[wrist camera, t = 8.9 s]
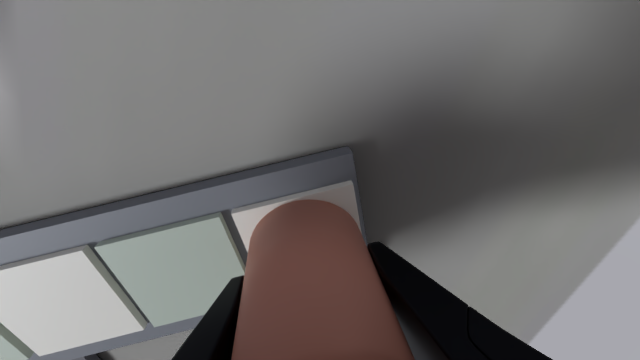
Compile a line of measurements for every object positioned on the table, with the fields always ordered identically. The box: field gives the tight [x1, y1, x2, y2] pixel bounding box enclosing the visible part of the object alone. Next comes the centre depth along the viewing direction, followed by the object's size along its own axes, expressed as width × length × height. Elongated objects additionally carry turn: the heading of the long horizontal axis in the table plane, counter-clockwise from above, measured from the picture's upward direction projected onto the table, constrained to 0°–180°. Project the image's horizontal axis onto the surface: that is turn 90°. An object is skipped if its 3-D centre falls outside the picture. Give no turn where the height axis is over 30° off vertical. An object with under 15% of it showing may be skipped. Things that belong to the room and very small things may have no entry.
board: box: [0, 146, 368, 360], centre depth 10 cm, size 6×22×1 cm, turn 102°
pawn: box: [231, 199, 415, 360], centre depth 7 cm, size 4×4×8 cm
